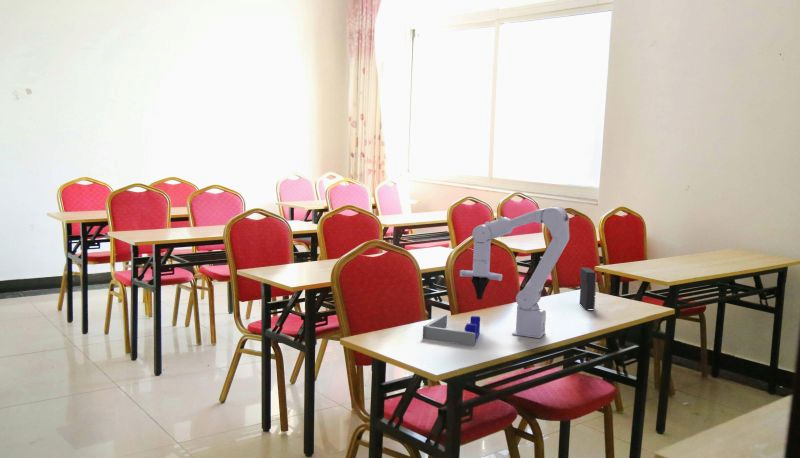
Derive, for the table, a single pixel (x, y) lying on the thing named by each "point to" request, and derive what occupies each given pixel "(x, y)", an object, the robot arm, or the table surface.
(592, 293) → the dark grey rectangular block
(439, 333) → the corner bracket
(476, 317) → the cable clip
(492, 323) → the table surface
